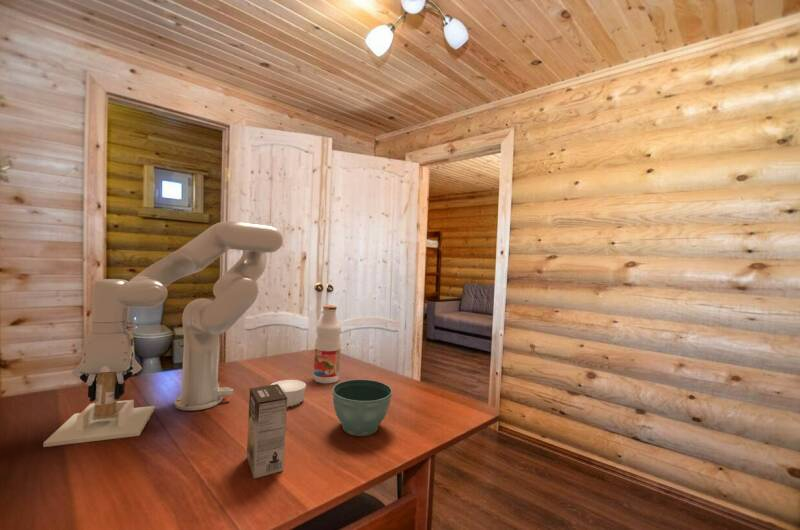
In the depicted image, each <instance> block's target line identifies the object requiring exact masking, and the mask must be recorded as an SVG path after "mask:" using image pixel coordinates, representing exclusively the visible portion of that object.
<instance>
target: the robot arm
mask: <svg viewBox="0 0 800 530" xmlns="http://www.w3.org/2000/svg"><path fill="white" fill-rule="evenodd" d="M283 241H284V238H283V234H282V233H281V231H279V229H277V228H275V227H273V226H270V225H269V226H268V225H262V224H254V223H248V222H246V223H245V222H241V221H221V222H217V223H215V224H212V225H211V226H210V227H208V228H206V229H205V230H204V231H203V232H201V233H200V234H198V235H197V236H195V237H194V238H193V239H191V240H190V241H188V242H187V243H186V244H184V245H183V246H181V247H180V248H178V249H177V250H174V251H173V252H171V253H170V254H168V255H166V256H165V257H163V258H160V260H157V261H156V262H154V263H152V264H150V266H149V265H148V267H146V268H145V269H144V270H141V272H139V273H137V275H135V276H133V277H132V278H131V279H129V281H128V280H126V279H120V278H118V279H117V278H105V279H104V278H103V279H97V280H96V281H94V282H93V285H92V295H91V296H92V297H91V298H92V299H91V313H90V314H91V315H90V317H91V319H90V332H88V333H87V334H86V336H85V340H84V343H83V348H82V353H81V354H82V355H81V360H80V362H79V363H78V365H76V366H75V367H74V369H73V370H72V371H71V375H72V376H73V377H76V378H79V379H80V380H81V381H82V382H84V383H85V385H86V386H87V388H88V389H87V397H88V398H89V402H90V403H91V402H92V403H94V402H95V394H96V382H97V374H98V373H101V372H100V370H101V368H102V367H103V366H107V367H108V368H109V369H110V371H111V372H113V373H116V375H117V379H118V381H117V384H116V386H115V399H116V400H118V401H119V400H120V399H121V397H122V396H123V395H124V394H125V392H126V391H125V389H126V381H127V380H128V379H129V378H131V377H132V376H133V375H135V374H136V373H138V372H140V371H141V370H142V369H143V367H142V365H141V364H140V363H139V362H138V361H137V359H135V341H134V334H133V331H132V330H130V329H135V328H136V322H131V320H130V307H135V308H137V307H138V308H155V307H158V306H160V305H161V304H163V303H164V302H165V301H166V299H167V297H168V295H169V294H168V288H167V287H168V286H169V285H170V284H172V283H173V282H176V281H177V280H179V279H181V278H184V277H188V276H190V275H194V274H196V273H199V272H200V271H201V272H202V271H203V270H205V269H206V268H207V267H208V266H210V265H211V264H212V263H213V262H214V261H215V260H217V259H218V258H220V257H221V256H222V255H224V254H225V253H226V252H227V251H229V250H234V251H235V250H236V251H242V255H241V257H240V258H239V260H237V262H236V263H235V264H233V266H231V267H230V269H228V270H227V271H226V272H225V273H224V274H223V275H222V276H220V278H219V279H217V281H216V282H215V283H214V285H213V287H212V293H213V296H214V299H210V298H202V297H201V298H197V299H194V300H192V301H190V302H188V304H187V305H186V306H185V307H184V309H183V312H182V319H181V320H182V330H183V353H182V354H183V355H182V358H183V359H182V374H181V376H182V377H181V395H180V396H179V397H177V399H176V400H175V401H174V407H175V408H177V409H178V410H179V411H180V410H182V411H189V412H190V411H200V410H206V409H210V408H213V407H215V406H217V405H219V404H220V403H221V402H222V401H223V396H233V394H234V388H230V386H229V387H228V386H225V387H221V386H220V383H219V381H218V380H219V379H218V377H219V361H220V359H219V358H220V335H221V334H224V333H226V332H227V331H229V330H230V329H231V328H232V327H233V326H234V325H235V324H236V323H237V321H239V319H241V318H242V316H243V315H244V314H245V313H247V311H248V310H249V309H250V308H251V307H252V306H253V304H254V303H255V302H256V300H257V298H258V295H259V284H258V283H257V281H258V280H259V279H260V277H261V276H262V275H263V273H264V272H265V270H266V267H267V254H268V253H269V254H271V253H275V252H277V251H278V250H279V249H280V248H281V247H282V245H283ZM131 367H132V369H130V368H131ZM128 370H129V371H128ZM127 371H128V372H127Z"/></svg>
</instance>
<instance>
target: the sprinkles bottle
mask: <svg viewBox="0 0 800 530" xmlns="http://www.w3.org/2000/svg"><path fill="white" fill-rule="evenodd" d="M100 372H101V373H98V374H97V382H96V394H95V400H94V403H95V414H94V416H95V417H96V418H106V417H109V416H112V415H114V414H116V412H117V410H116V403H117V400H116V399H115V386H116V384H117V381H118V379H117V375H116V373H113V372H111V371H110V369H109V368H108V367H107V366H103V367H102V368H101V370H100Z"/></svg>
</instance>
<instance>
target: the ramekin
mask: <svg viewBox="0 0 800 530" xmlns="http://www.w3.org/2000/svg"><path fill="white" fill-rule="evenodd" d="M275 384H278V385H279V386H280V388H281V389H282V391H283V392H284V394H285V395H286V396H287V408H290V407H289V406H291V407H295V406H298V405H299V404H300V402H301V403H302V402H303V400H304V397H305V390H306V389H307V384H306V383H305V382H304V381H302V380H298V379H284V380H278V381H275V382H273V383H271V384H270V385H275ZM297 404H298V405H297ZM294 405H295V406H294Z"/></svg>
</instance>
